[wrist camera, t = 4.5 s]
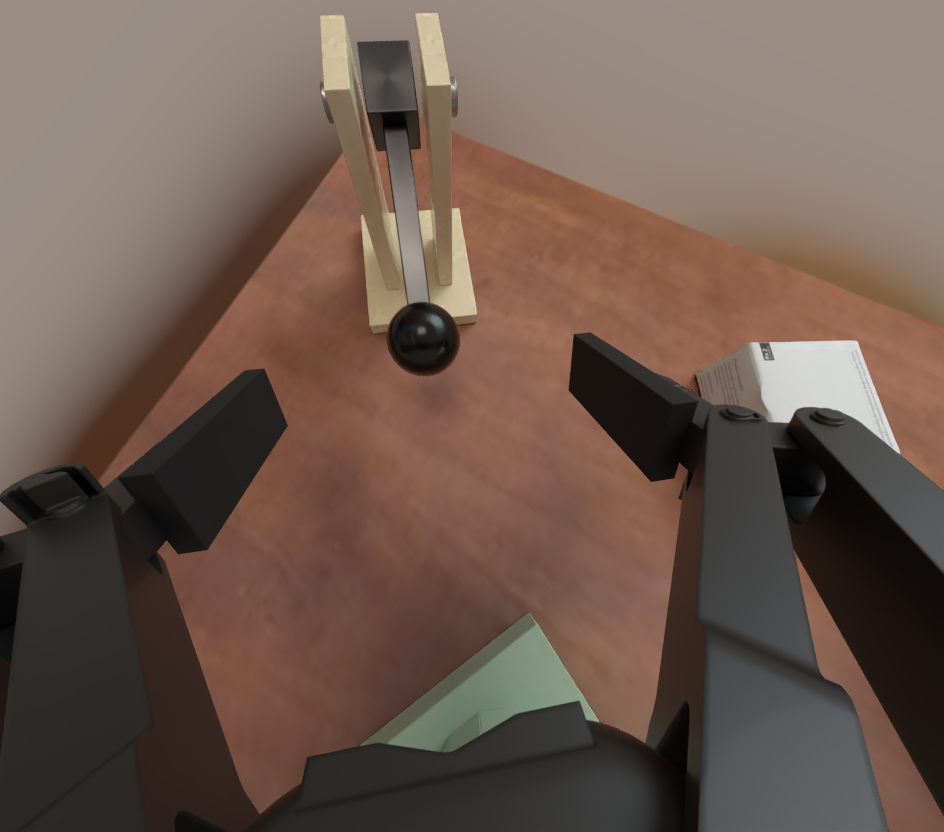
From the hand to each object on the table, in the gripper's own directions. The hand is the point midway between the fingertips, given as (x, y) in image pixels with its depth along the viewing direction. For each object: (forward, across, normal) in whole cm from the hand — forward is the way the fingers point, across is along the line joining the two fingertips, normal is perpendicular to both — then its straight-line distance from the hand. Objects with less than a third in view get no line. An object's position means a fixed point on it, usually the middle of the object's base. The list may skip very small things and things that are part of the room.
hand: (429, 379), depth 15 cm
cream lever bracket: (+16, 0, +2) cm, 16 cm away
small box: (+5, +24, -9) cm, 26 cm away
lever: (+7, 0, +5) cm, 8 cm away
